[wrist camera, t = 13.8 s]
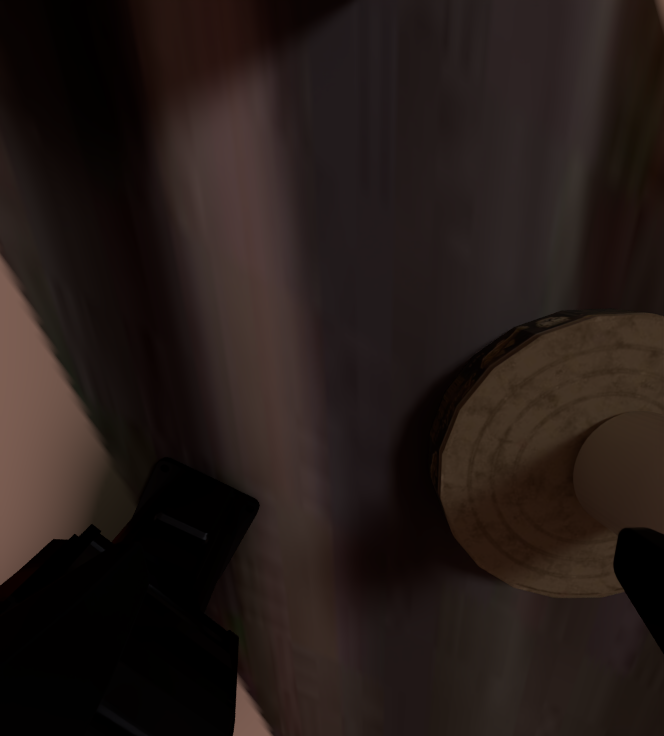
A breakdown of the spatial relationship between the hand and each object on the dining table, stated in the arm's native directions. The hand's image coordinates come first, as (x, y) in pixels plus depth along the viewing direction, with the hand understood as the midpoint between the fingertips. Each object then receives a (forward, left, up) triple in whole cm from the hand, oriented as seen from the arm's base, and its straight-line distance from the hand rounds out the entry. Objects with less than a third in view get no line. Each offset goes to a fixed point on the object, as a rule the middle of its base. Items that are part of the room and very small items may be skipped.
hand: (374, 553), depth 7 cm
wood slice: (+2, -13, -14) cm, 19 cm away
